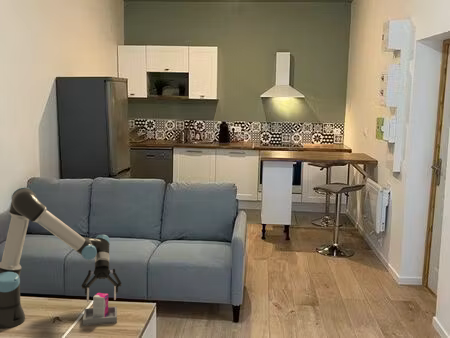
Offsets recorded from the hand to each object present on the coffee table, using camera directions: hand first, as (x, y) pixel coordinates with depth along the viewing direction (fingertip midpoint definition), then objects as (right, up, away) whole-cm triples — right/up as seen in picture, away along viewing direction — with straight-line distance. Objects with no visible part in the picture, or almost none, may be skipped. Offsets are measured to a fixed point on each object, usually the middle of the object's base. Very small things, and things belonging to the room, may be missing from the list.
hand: (101, 299), depth 248 cm
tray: (+1, -8, -6) cm, 10 cm away
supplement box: (+1, -7, -6) cm, 9 cm away
